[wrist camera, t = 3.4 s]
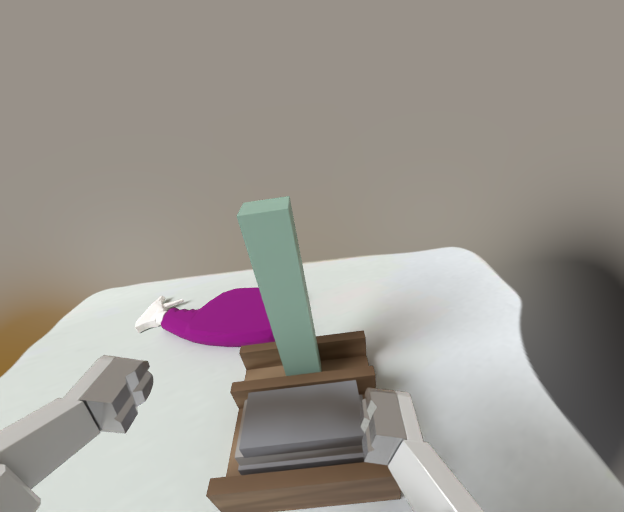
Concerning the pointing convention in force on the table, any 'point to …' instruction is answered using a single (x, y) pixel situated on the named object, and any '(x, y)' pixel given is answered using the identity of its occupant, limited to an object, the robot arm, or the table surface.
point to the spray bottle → (214, 319)
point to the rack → (310, 481)
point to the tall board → (281, 281)
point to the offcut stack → (300, 428)
